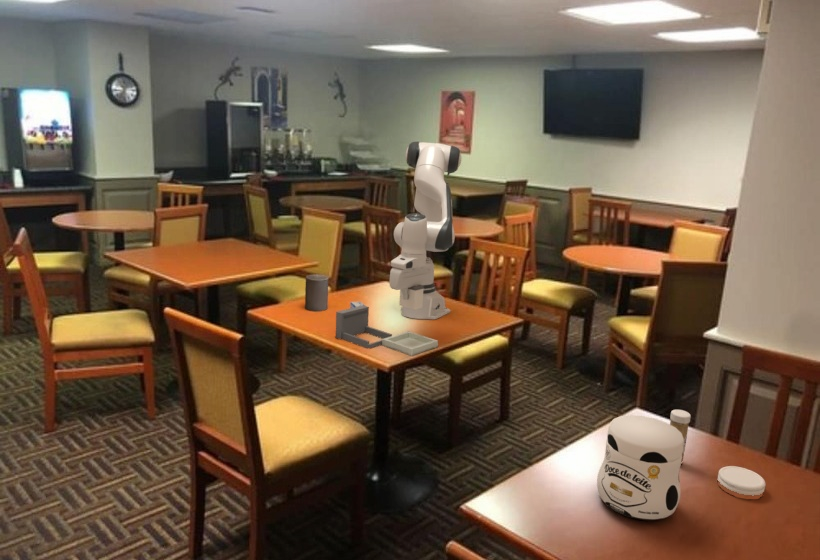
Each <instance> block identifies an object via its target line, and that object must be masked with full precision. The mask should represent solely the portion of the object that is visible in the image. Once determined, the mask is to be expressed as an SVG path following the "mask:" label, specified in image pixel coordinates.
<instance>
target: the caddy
mask: <svg viewBox="0 0 820 560" xmlns="http://www.w3.org/2000/svg"><path fill="white" fill-rule="evenodd" d="M423 289H424V286H422V285H415V286H412V287H409V288H408V291H407V294H408V295H409V299H407V300H404V299H403V294H402V292H401V290H399V306H401V307H407V308H410V309H413V310H415V309H419V308H422V305H423Z"/></svg>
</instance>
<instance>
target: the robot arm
mask: <svg viewBox="0 0 820 560" xmlns="http://www.w3.org/2000/svg"><path fill="white" fill-rule="evenodd" d="M405 160H406V164H407V165H408V167H410V168H412V169H415V170H414V177H413V182H414V185H415V187H416V188H415V194H414V200H413V201H414V202H413V207H414V208H415V210H416V211H417V212H415V213H414V212H413V213H409V214H406V216H405V217H404V221H401V222H399V223H398V224H396V226H394V230H393V239H394V241H395V243H396V244H397V245H398V246H399V247H400V248H401V251H400V254H399V255H398V256H397V257H394V258H393V259H392V260H391V261H390V266H391V267H392V268H391V269H390V271H389V273H390V274H389V287H390V288H391V289H392V290H395V291H400V290H401V292H402V294H403V299H404V300H407V299H409V295H408V294H407V291H408V288H409V287H412V286H415V285H422V286H424V289H423V305H422V308H419V309H415V310H413V309H410V308H407V307H403V306H401V307H400V308H401V309H400V311H401V315H402V316H404V317H406V318H409V319H414V320H415V319H416V320H417V319H418V320H437V319H439V318H441V317H444V316H446V315H447V314H450V313H451V309H450V308H448V307H446V299H445V297H444V296H442V295H441V293H440V292H438V290H436V289H437V288H439V287H440V286H441V284H440V282H437V281H434V279H435V265H434V263H433V262H434V261H433V259H431V257H427V251H428V252H434V253H435V252H436V253H437V252H446V251H448V250H449V249H450V248H452V247H453V246H454V243H455V238H456V234H455V228H454V224H453V204H452V203H453V201H452V191H451V187H450V185H449V184H448V183H446V181H445V173H447V175H446V176H447V177H449V176H450V174H454V173H455V172H456V171H458V169H459V167H460V166H461V163H462V154H461V150H460V148H459V147H457V146H454V145H448V144H444V143H440V142H429V141H428V142H423V141H412V142H411V143H409V145H408V146H407V148H406V151H405Z"/></svg>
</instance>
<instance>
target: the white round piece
mask: <svg viewBox="0 0 820 560" xmlns="http://www.w3.org/2000/svg"><path fill="white" fill-rule="evenodd" d="M717 480H718V481H719V482H720V484H721V485H723V486H724V487H726V488H727V489H729V490H731V491H734V492H737V493H739V494H744V495H752V496H754V495H760V494H762V493H763V492H764V493H765V487H766V481H765V479H764V478H763V477H762V476H761V474H758V473H757V472H755V471H753V470H751V469H748V468H745V467H740V466H735V465H729V466H728V465H727V466H723V467H721V468H720V469H719V470H718V475H717Z"/></svg>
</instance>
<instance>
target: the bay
mask: <svg viewBox="0 0 820 560" xmlns="http://www.w3.org/2000/svg"><path fill="white" fill-rule="evenodd" d="M364 305H365V304H364ZM364 305H362V306H358V307H354V308H350V307H349V308H345V309H341V310H337V311H336V312H335V338H336V339H339V340H344V341H346V342H349V343H351V342H352V344H354V345H357V344H358V346H360V345H361V346H360V347H362V346H363V347H362V348H366V349H368V348H370V349H373V348H377V347H380V346H382V339H384V338H388V337H391V336H393V334H392V333H389V332H386V331H383V330H380V329H378V328H374V327H371V326H369V310H370V307H369V306H367V305H365V306H364ZM364 332H366V334H368V333H369V334H368V335H371V334H372V335H371V336H374V335H375V336H374V337H377V336H378V337H377V338H380V337H381V338H380V339H381V340H377V341H374V342H370V340H367V339H365V338H361V337H358V335H357V334H359V335H362V334H365V333H364ZM361 333H362V334H361ZM354 335H355V336H354ZM379 345H380V346H379ZM376 346H377V347H376ZM372 347H373V348H372Z"/></svg>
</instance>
